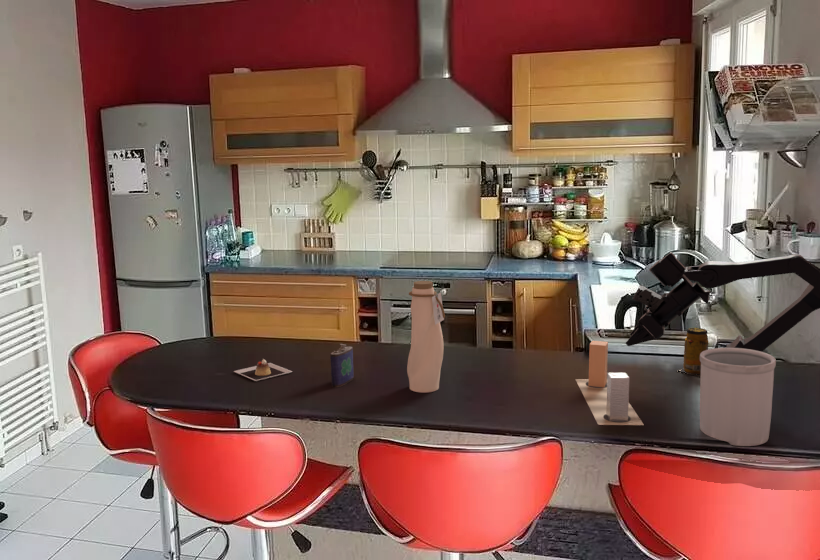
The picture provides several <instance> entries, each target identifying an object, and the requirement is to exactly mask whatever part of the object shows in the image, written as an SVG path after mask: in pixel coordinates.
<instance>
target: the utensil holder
mask: <svg viewBox="0 0 820 560" xmlns="http://www.w3.org/2000/svg"><path fill="white" fill-rule="evenodd" d="M700 362H701V377H700V379H699V380H700V382H699V385H700V388H699V389H700V391H699V429H700V431H701V432H702V433H704V434H705V435H707V436H708V437H711V438H713V439H715V440H716V439H717V440H719V441H724V442H727V443H728V444H729V445H730V446H734V447H735V446H736V447H753V446H754V447H755V446H760V445H763V444H765V443H767V442H768V440H769V438H770V437H769V436H770V431H771V419H772V410H773V409H772V407H773V393H774V392H773V391H774V379H775V378H774V377H775V368H776V364H777V360H776V357H774V356H773V355H772V354H769V353H767V352H764V351H763V352H761V351H756V350H751V349H743V348H727V347H715V348H708V350H705V351H703V352H701V353H700Z"/></svg>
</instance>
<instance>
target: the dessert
mask: <svg viewBox="0 0 820 560" xmlns="http://www.w3.org/2000/svg"><path fill="white" fill-rule="evenodd" d="M271 368H272V369H275V370H277V371H280V372H282V373H279V374H275V375H271V374H272V372H271ZM254 370H255V372H254V375H255V376H259V377H262V376H263V377H262V378H260V379H256V378H255V379H254V378H252V377H249V376H247V375H245V374H243V373H246V372H251V371H254ZM292 372H293V371H292V370H290V369H288V368H286V367H282V366H280V365H277V364H274V363H272V362H267V360H266V359H264V358H262V360H261V359H260V360H259V361H258V362H257V364H256V365H254V366H250V367H246V368H241V369H237V370H233V373H235V374H238V375H241V376H242V377H245V378H247V379H250V380H252V381H253V382H259V381H264V380H267V379H268V380H269V379H271V378H276V377H280V376H283V375H288V374H290V373H292ZM268 375H271V376H268ZM264 376H267V377H264Z"/></svg>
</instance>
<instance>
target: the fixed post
mask: <svg viewBox="0 0 820 560" xmlns="http://www.w3.org/2000/svg"><path fill="white" fill-rule="evenodd" d="M629 400H630V376H629V375H628V373H626V372H607V406H606V415H607V417H608V419H609V420H610V421H628V403H630V402H629Z"/></svg>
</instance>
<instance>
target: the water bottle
mask: <svg viewBox="0 0 820 560" xmlns="http://www.w3.org/2000/svg"><path fill="white" fill-rule="evenodd" d="M433 285H434V284H433V281H429V280H418V281H417V280H416V281H413V286H412V289H411V290H410V291H409V292H408V295H409V296H411V302H410V314H411V331H410V332H411V335H410V338H411V340H410V342H411V343H410V350H409V353H408V357H407V367H406V372H407V377H408V382H409V390H410V391H413V392H416V393H421V394H423V393H424V394H425V393H432V392H436V391H438V390H439V389H440V378H441V368H442V364H443V359H444V347H445V346H444V338H443V337H444V335H443V331H442V330H443V329H442V326H441V322H442V321H445V318H446V313H445V309H444V307H443V297H442V292H439V293H438V292H437V291H436V290H435V289H434V286H433Z"/></svg>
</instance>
